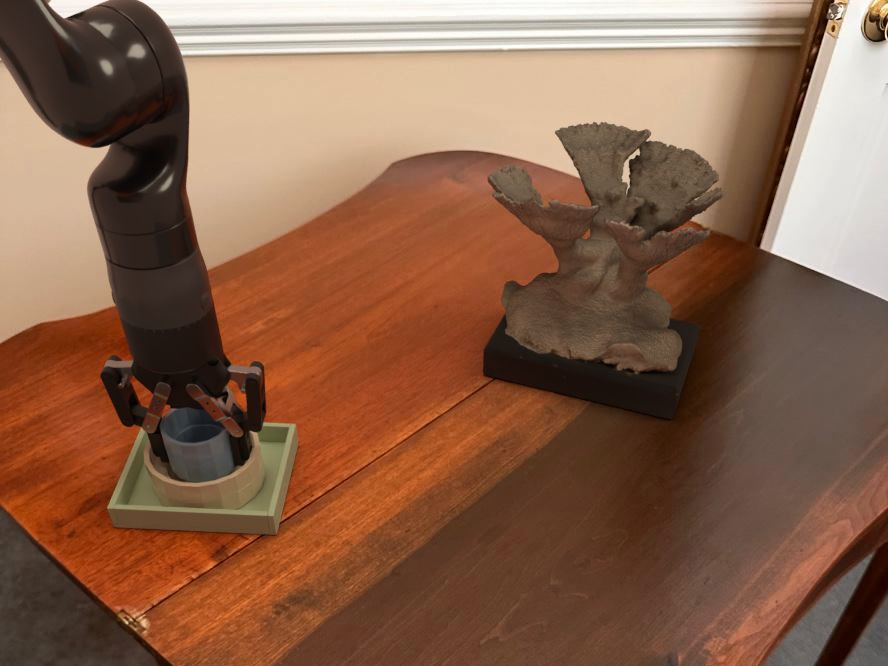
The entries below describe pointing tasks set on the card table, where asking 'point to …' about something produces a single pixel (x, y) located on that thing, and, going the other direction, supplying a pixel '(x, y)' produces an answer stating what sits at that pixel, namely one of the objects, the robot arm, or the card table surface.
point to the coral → (604, 273)
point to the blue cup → (196, 445)
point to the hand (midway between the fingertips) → (204, 458)
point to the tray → (258, 516)
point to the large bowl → (207, 483)
